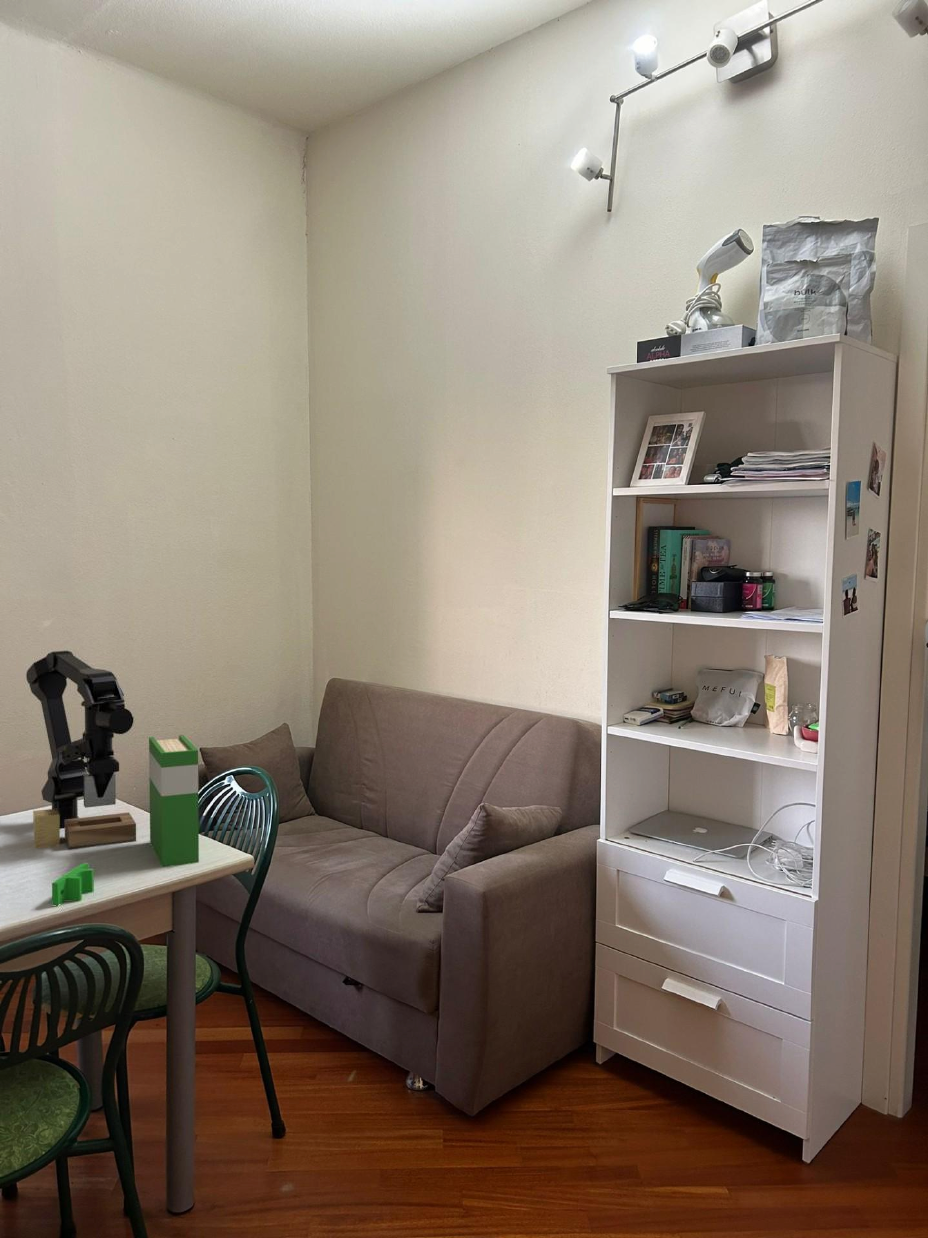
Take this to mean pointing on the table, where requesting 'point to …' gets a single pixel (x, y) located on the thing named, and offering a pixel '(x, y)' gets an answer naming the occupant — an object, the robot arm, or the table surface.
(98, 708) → the robot arm
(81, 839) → the socket block
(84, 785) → the block
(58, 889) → the green finned bracket
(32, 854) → the table surface
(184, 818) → the hardback book
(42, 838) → the square bit
